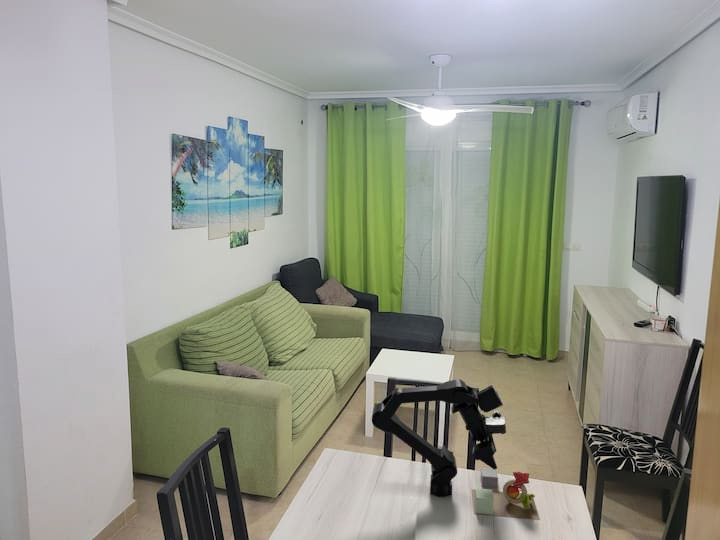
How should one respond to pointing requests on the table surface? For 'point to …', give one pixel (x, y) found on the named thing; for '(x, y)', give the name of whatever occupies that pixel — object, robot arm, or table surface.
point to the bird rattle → (512, 489)
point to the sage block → (484, 501)
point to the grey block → (489, 477)
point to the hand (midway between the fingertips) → (495, 460)
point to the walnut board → (510, 507)
